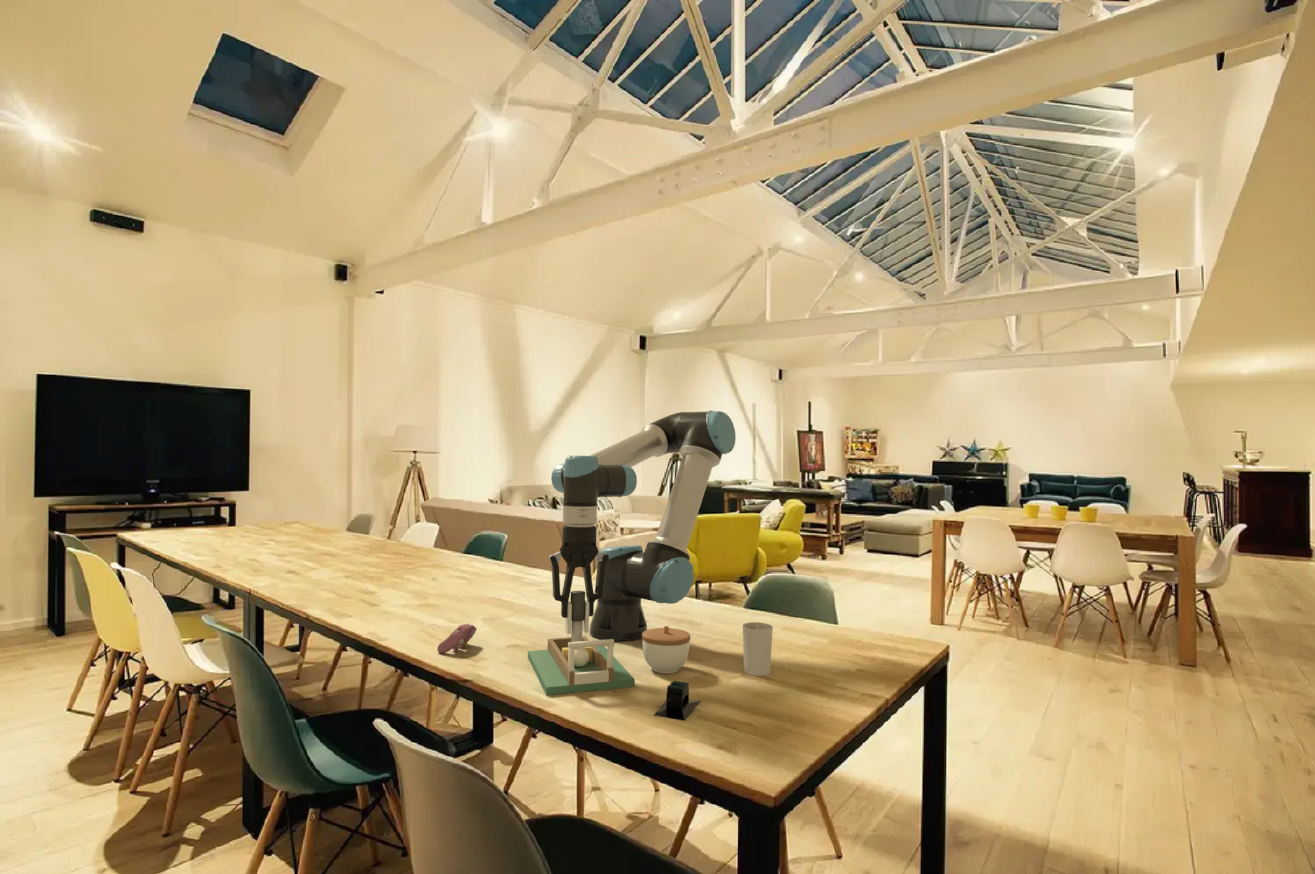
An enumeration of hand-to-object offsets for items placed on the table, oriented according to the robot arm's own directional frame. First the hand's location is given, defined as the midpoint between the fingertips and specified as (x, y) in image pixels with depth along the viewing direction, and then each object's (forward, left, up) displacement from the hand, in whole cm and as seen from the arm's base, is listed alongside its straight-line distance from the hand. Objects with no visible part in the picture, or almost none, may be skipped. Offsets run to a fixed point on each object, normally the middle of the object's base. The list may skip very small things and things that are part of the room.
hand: (576, 631), depth 144 cm
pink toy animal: (+24, -22, -8) cm, 34 cm away
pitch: (0, +2, -8) cm, 8 cm away
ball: (0, +4, -5) cm, 6 cm away
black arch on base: (-13, +28, -9) cm, 32 cm away
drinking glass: (-38, +12, -8) cm, 41 cm away
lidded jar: (-19, +5, -8) cm, 21 cm away
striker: (0, +1, -6) cm, 6 cm away
